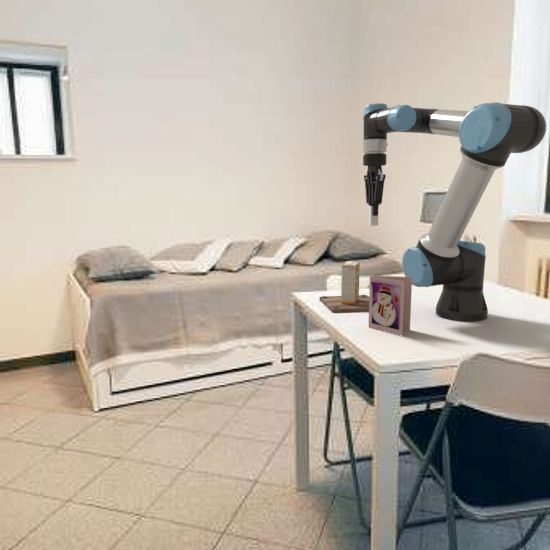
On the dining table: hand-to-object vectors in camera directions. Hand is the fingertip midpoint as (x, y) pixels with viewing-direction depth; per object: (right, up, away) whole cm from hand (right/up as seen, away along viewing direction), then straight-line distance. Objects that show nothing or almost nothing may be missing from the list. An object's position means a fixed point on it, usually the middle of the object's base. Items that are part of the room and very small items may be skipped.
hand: (373, 225), depth 177 cm
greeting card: (0, -32, -29) cm, 43 cm away
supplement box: (-8, -26, 0) cm, 27 cm away
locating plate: (-8, -27, 0) cm, 28 cm away
